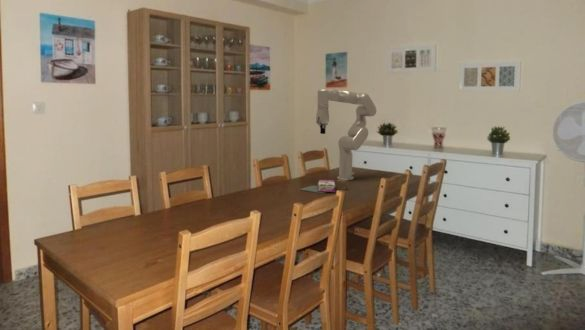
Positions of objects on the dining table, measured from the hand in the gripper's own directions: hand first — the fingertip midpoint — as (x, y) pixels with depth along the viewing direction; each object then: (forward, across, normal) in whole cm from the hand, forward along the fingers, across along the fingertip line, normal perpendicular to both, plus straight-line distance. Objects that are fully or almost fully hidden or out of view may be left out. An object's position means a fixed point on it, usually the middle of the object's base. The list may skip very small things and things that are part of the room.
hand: (322, 133), depth 310 cm
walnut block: (+35, +12, +22) cm, 43 cm away
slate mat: (+34, +24, +11) cm, 43 cm away
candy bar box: (+32, +14, +12) cm, 37 cm away
